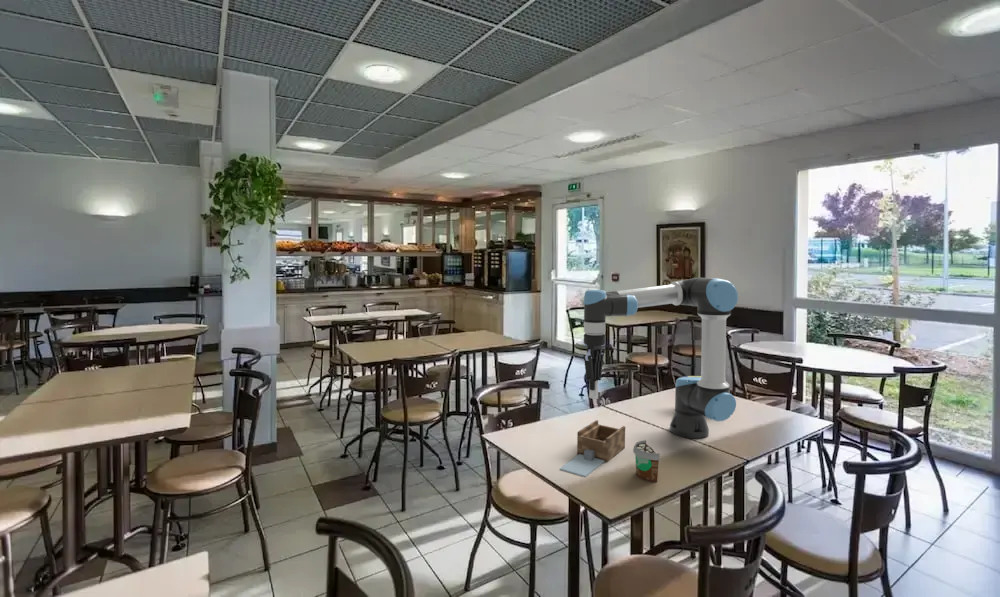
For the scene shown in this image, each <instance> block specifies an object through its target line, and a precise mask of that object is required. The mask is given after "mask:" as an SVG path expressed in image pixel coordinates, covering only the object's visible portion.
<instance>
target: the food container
mask: <svg viewBox="0 0 1000 597" xmlns="http://www.w3.org/2000/svg"><path fill="white" fill-rule="evenodd" d="M632 452H633V453H634V455H635V458H634V459H635V474H636V477H637V478H639V479H640V480H642V481H645V482H651V483H657V482H658V474H659V462H660V461H661V460H660V459H661V458H660V453H656V452H655V451H654V449H653V448H652V447H651V446H649V445H648V444H647V440H646V439H645V440H639V441H637V442H636V443H635V444H634V445H633V450H632Z"/></svg>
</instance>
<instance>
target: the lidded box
mask: <svg viewBox="0 0 1000 597" xmlns="http://www.w3.org/2000/svg"><path fill="white" fill-rule="evenodd" d="M576 433H577V434H576V435H577V438H576V440H577V441H576V443H577V444H576V446H577V448H576V450H577V451H576V452H577V455H579V454H581V455H584V451H585V450H586V449H589V450H593V451H595V458H597V459H601V460H604V462H603V463H605V462H606V463H609V462H610V461H611V460H612V459H613V458H615V457H617V455H618V454H619V453H620V452H622V451H623V450H624V449H625V448H626V426H624V425H622V426H621V427H620V428H617V427H611V426H608V425H603V424H599V419H597V420H594V421H592V422H591V423H590V424H588V425H586V426H585V427H583V428H582V429H580V430H579V431H577V432H576Z"/></svg>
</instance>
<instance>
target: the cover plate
mask: <svg viewBox="0 0 1000 597" xmlns="http://www.w3.org/2000/svg"><path fill="white" fill-rule="evenodd" d="M603 463H605V462H604V460H601V459H597V458H595V451H593V450H589V449H586V450H585V451H584V455H581V454H579V455H578V454H577V455H576V456H575V457H573V458H572V459H570V460H569V461H568V462H566V463H565V464H563V466H561V467H560V468H559V470H560V471H562V472H567V473H569V474H574V475H577V476H580V477H584V478H587V477H588V476H589V475H590V474H592V473H593V472H594V471H595V470H596V469H597V468H598V467H600V466H601V465H602V464H603Z"/></svg>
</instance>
